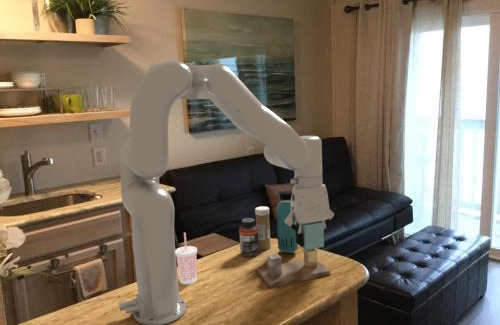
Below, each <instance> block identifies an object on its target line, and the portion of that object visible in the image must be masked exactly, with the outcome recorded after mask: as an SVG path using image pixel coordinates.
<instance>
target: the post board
mask: <svg viewBox="0 0 500 325" xmlns="http://www.w3.org/2000/svg"><path fill="white" fill-rule="evenodd" d="M256 274H257V275H258V276H260V278H261V279H262V280H263V281H264V282H265V284H267V285H268V287H270V288H276V287H280V286H284V285H289V284H294V283H298V282H302V281H307V280H312V279H316V278H320V277H325V276H330V275H331V270H330V269H329V268H328V267H326V266H325V265H324V264H323V263H321V262H320V261H319V260H317V267H315V268H310V269H308V268H307V267H306V266H304V258H303V259H299V260H294V261H289V262H284V263H282V257H281V255H279V254H278V253H274V254H270V255H269V254H268V255H267V266H265V267H258V268H256Z"/></svg>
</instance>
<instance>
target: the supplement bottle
mask: <svg viewBox="0 0 500 325" xmlns="http://www.w3.org/2000/svg"><path fill="white" fill-rule="evenodd" d="M255 223H256V221H255V219H254V218H251V217H245V218H243V219H241V225H240V226H239V227H238V233H239V234H238V235H239V248H240V255H241V256H243V257H245V258H247V257H248V258H253V257H256V256H258V255H259V253H260V249H259V239H258V227H257V226H256V224H255Z"/></svg>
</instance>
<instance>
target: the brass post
mask: <svg viewBox="0 0 500 325" xmlns="http://www.w3.org/2000/svg"><path fill="white" fill-rule="evenodd" d="M303 259H304V266H306V267H307V268H308V269H310V268H315V267H317V261H318V250H317V248H315V249H310V250H305V249H304V248H303Z"/></svg>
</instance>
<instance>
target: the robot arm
mask: <svg viewBox="0 0 500 325" xmlns="http://www.w3.org/2000/svg"><path fill="white" fill-rule="evenodd" d="M178 100H210V102H212V103H213V105H215V106H216V107H217V108H218V109H219V111H221V113H222V114H224V116H225V117H226V118H228V119H229V121H230V122H231V123H232V124H233V125H234V126H235V127H236V128H237V129H238V130H240V131H241V132H243V133H244V134H246V135H249V136H251V137H253V138H254V139H257V140H259V141H260V142H261V143H263V144H264V148H263V156H264V158H265V160H266V161H267V162H268V163H269V164H271V165H274V166H277V167H280V168H283V169H286V170H287V169H288V170H290V171H294V176H293V178H291V179H290V184H291V185H293V186H292V191H291V192H292V197H291V200H290V201H291V212H290V214H289V215H288V216H287V218H286V219H285V221H284V222H285V223H286V224H287V225H288V226H290V227H291V228H292V229H293V230H294V231H296V243H297V244H298V247H301V248H302V247H304V234H303V233H302V230H303V224H309V223H314V222H320V221H322V222H324V230H325V229H327V225H329V223H330V221H331V220H332V218H334V216H335V213H334V212H333V211H332V209H330V203H329V196H328V190H327V187H326V184H324V183H323V154H322V153H323V150H322V149H323V146H322V143H323V142H322V139H321V138H320V137H319V136H316V135H299V134H298V133H297V132H296V131H295V130H294V128H293V127H292V126H291V125H289V124H288V123H287V122H286V121H284V120H283V119H282V118H280V117H279V116H278V115H277V114H275V113H274V112H273V111H271V110H270V109H269V108H267V107H266V106H265V105H263V104H262V103H261V101H260V100H258V98H257V97H256V96H255V95H254V94H253V92H252V91H250V90H249V88H248V87H247V86H246V85H245V84H244V83H243V82H242V80H241V79H240V78H239V77H238V76H237V75H236V73H234V72H233V71H232V70H231V69H230V68H229V67H227V65H224V64H221V63H215V64H205V65H187V64H185V63H184V62H182V61H179V60H167V61H163V62H158V63H155V64H153V65H151V67H149V68H148V69H147V70H146V73H145V76H144V78H143V80H141V82H140V83H139V84H138V86H137V87H136V89H135V91H134V93H133V96H132V99H131V101H130V102H131V103H130V108H129V137H128V138H127V139H126V140H125V142H124V143H123V144H122V147H121V149H120V155H119V164H120V165H119V167H120V168H119V169H120V170H119V171H120V173H119V174H120V195H121V201H122V204H123V207H124V208H125V209H126V211H127V212H128V213H129V215H130V216H131V223H132V226H131V228H132V249H133V255H134V265H135V266H134V267H135V274H136V275H135V276H136V286H137V287H136V288H137V293H135V294H136V297H135V298H132V300H127V301H125V300H124V301H121V302H119V303H118V304H119V306H118V307H119V311H120V312H121V311H125V314H126V315H127V314H131V313H132V314H133V318H134V320H135V321H136V322H138V323H139V324H142V325H165V324H169V323H172V322H174V321H176V320H178V319H180V318H181V317H182V316H184V314H186V311H187V306H188V305H187V302H186V300H185V299H184V298H183V297H181V296H180V292H179V291H180V290H179V288H180V287H179V280H178V279H179V278H178V264H177V257H176V253H175V250H176V243H175V206H174V205H175V204H174V201H173V198H172V196H171V195H170V193H169V192H168V191H167V190H166V189H165V188H164V187H162V186H161V185H160V178H161V177H162V176H163V175H164V174H165V173H166V172H167V170H168V168H169V163H170V152H169V119H170V113H171V110H172V107H173V106H174V104H175V103H176V102H177V101H178ZM292 220H296V222H295V224H293V223H292ZM325 236H326V235H325V232H324V239H325Z"/></svg>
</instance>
